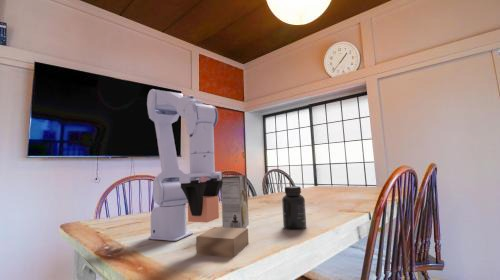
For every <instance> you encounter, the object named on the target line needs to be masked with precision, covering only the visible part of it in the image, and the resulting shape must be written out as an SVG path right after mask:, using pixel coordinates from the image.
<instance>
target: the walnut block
mask: <svg viewBox="0 0 500 280" xmlns="http://www.w3.org/2000/svg"><path fill="white" fill-rule="evenodd" d="M195 239H196V240H195V241H196V243H195V244H196V246H195V247H196V248H195V249H196V250H195V251H196V255H200V256H201V255H204V256H206V255H207V256H214V257H215V256H216V257H229V258H235V257H236V256H237V255H238V254H240V253H241V251H243V250H244V249H246V247H247V246H248V245H249V228H247V227H245V228H225V227H223V226H222V227H221V226H215V227H212V228H210V229H208V230H207V231H205V232H202V233H201V234H199V235H197V236H196V237H195Z"/></svg>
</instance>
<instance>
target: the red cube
mask: <svg viewBox="0 0 500 280" xmlns="http://www.w3.org/2000/svg"><path fill="white" fill-rule="evenodd" d="M219 207H220V206H219V195H218V196H203V205H202V214H201V216H192V214H191V210H190V207H189V203H187V222H189V223H190V222H191V223H194V222H195V223H209V222H212V221H215V220H217V219H219V218H220V212H219V210H220V209H219Z"/></svg>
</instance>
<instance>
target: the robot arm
mask: <svg viewBox="0 0 500 280" xmlns="http://www.w3.org/2000/svg"><path fill="white" fill-rule="evenodd" d="M195 97H196V96H194V95H193V94H187V95H185V96H184V95H183V93H180V92H175V91H174V92H173V91H168V90H167V91H166V90H162V89H161V90H160V89H154V88H152V89H150V90H149V92H148V94H147V98H146V100H147V101H146V106H147V115H148V119H150V120H151V121H152V122H153V123H154V128H155V134H156V139H157V147H158V155H159V162H160V168H161V172H160V173H158V175H156V176H155V177H154V179H153V182H152V184H153V185H152V188H153V189H152V198H153V202H154V203H155V204H156V205H155V206H154V207H153V208H152V210H151V211H150V236H148V239H149V240H156V241H157V240H159V241H171V242H177V241H178V240H179V241H180V240H182V239H183V238H186V237H189V236H190V235H192V234H194V231H188V230H187V227H188V226H187V204H188V203H189V207H190V210H191V214H192V216H201V214H202V205H203V196H218V197H219V193H220V189H221V186H222V184H223V180H221V179H222V177H223V176H222V175H223V174H222V171H216V169H215V168H216V166H215V165H216V164H215V161H216V160H215V159H216V158H215V137H214V136H215V132H214V128H215V127H216V126H217V124H218V120H219V111H218V109H217V107H216V106H215V105H214V104H204V103H203V101H202V100H201V99H195ZM179 117H182V118H183V119H184V124H185V126H186V133H187V135H188V136H189V137H188V138H189V140H188V141H189V142H188V143H189V173H187V172H185V171H183V170H181V169H180V167H179V160H178V155H177V150H176V144H175V138H174V137H175V136H174V132H173V126H172V124H173V123H175V122H178V120H179Z"/></svg>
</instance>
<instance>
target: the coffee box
mask: <svg viewBox="0 0 500 280" xmlns="http://www.w3.org/2000/svg"><path fill="white" fill-rule="evenodd" d="M247 179H248V178H247V174H243V175H242V174H241V175H239V174H238V175H226V176H222V179H220V180H223V184H222V186H221V188H220V189H221V191H220V192H221V218H222V219H221V220H222V223H221V224H222V227H225V228H247V226H248V225H249V223H250V222H249V203H248V201H249V199H248V183H247V181H248V180H247Z"/></svg>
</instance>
